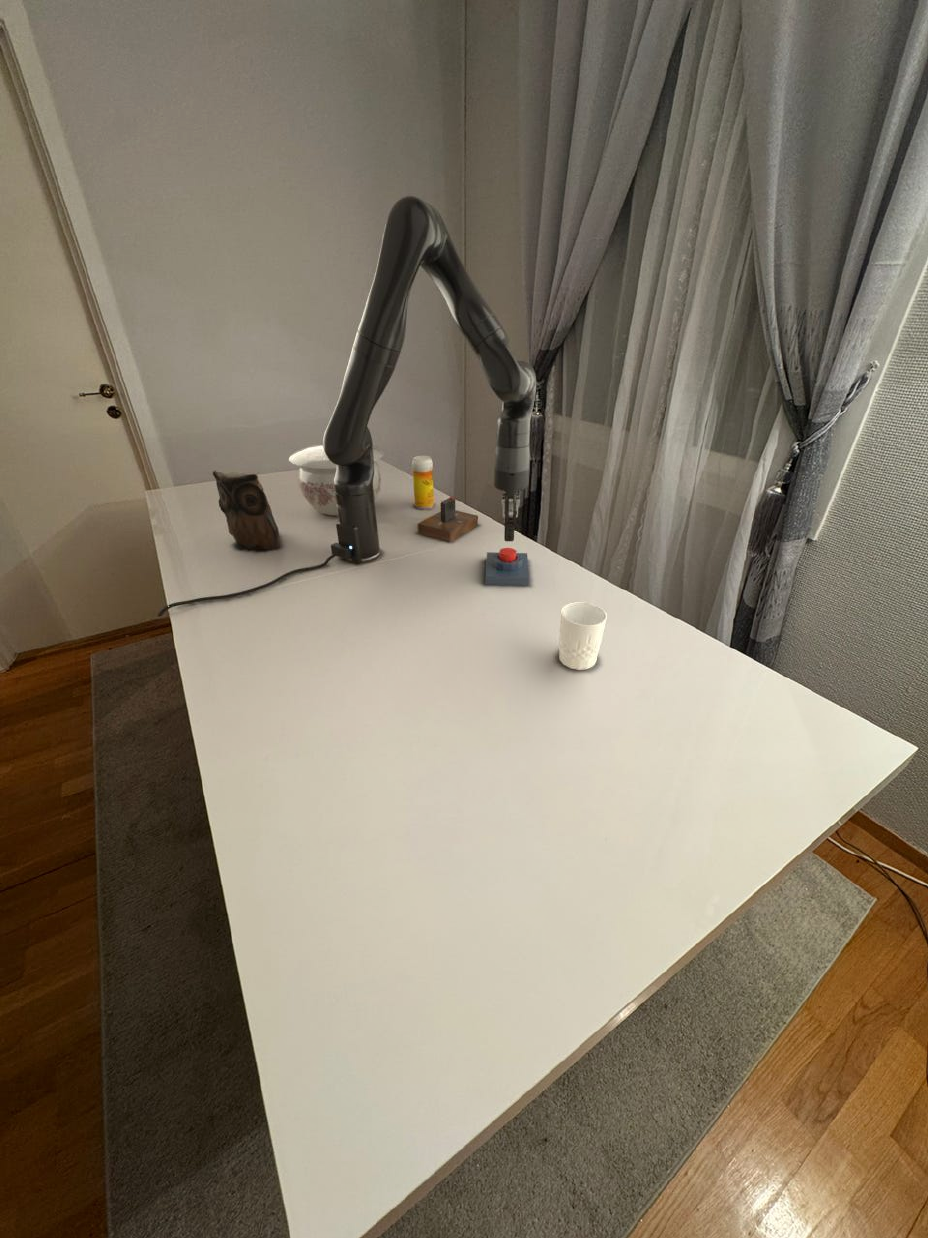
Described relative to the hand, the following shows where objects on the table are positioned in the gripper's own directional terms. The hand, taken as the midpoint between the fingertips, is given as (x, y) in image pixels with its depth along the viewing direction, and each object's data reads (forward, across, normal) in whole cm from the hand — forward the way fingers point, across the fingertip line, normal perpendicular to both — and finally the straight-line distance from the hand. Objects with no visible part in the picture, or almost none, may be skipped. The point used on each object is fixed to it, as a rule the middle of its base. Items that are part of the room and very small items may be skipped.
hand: (508, 539), depth 120 cm
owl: (+8, -14, -66) cm, 68 cm away
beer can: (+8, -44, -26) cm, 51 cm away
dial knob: (+5, -26, -16) cm, 31 cm away
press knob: (+5, 0, 0) cm, 5 cm away
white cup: (+9, +34, +12) cm, 37 cm away
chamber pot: (+8, -41, -51) cm, 65 cm away
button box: (+8, 0, 0) cm, 9 cm away
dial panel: (+8, -26, -16) cm, 32 cm away
